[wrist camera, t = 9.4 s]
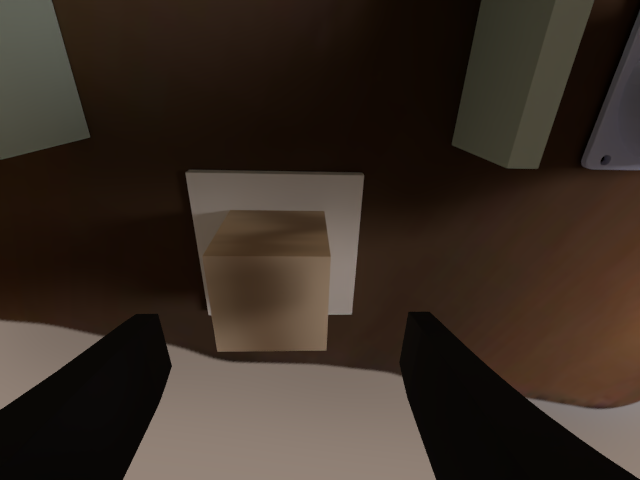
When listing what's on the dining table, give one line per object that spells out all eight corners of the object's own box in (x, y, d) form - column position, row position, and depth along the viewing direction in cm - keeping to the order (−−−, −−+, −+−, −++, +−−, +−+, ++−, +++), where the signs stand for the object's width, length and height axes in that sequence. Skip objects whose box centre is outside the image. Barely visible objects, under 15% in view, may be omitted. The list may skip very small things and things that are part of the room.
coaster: (362, 172, 17) (364, 175, 16) (350, 308, 21) (351, 314, 20) (189, 169, 16) (185, 172, 16) (211, 308, 20) (208, 315, 20)
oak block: (324, 210, 17) (330, 256, 12) (321, 288, 19) (326, 350, 15) (229, 209, 17) (202, 256, 12) (238, 288, 19) (217, 351, 14)
